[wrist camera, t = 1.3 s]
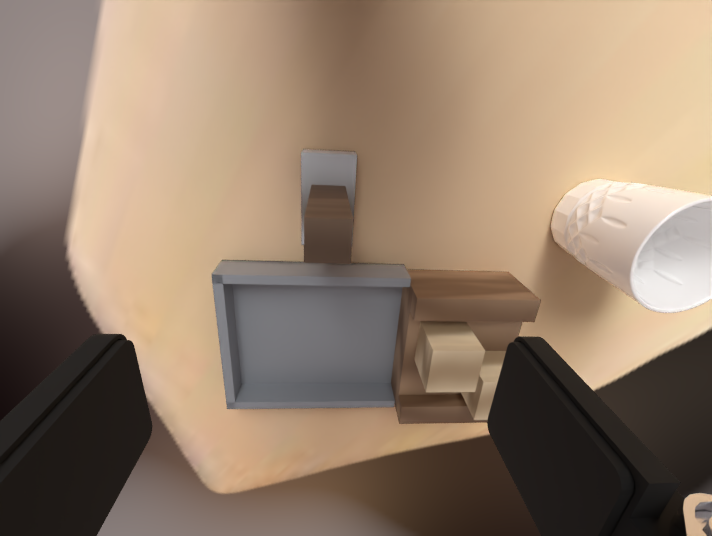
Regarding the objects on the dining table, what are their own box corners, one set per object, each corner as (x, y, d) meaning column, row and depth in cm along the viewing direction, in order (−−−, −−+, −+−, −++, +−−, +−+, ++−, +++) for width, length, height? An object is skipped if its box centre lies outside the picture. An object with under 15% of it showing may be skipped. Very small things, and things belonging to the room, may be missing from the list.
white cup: (582, 155, 29) (698, 174, 20) (649, 195, 31) (783, 229, 22) (525, 237, 32) (605, 288, 23) (590, 270, 34) (688, 328, 25)
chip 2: (465, 350, 31) (483, 382, 28) (508, 350, 32) (532, 381, 28) (457, 386, 33) (474, 420, 29) (498, 385, 33) (520, 419, 30)
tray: (221, 260, 31) (211, 274, 28) (403, 264, 32) (411, 278, 29) (234, 386, 36) (227, 409, 33) (389, 385, 38) (394, 407, 35)
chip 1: (420, 321, 30) (433, 350, 26) (466, 321, 30) (485, 350, 27) (414, 359, 31) (425, 392, 28) (458, 359, 32) (475, 392, 28)
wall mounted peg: (303, 148, 27) (288, 171, 17) (354, 151, 28) (370, 175, 17) (303, 234, 30) (290, 299, 20) (350, 236, 31) (361, 300, 20)
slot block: (403, 269, 32) (417, 298, 27) (508, 271, 33) (540, 300, 28) (389, 381, 37) (399, 423, 32) (481, 381, 38) (504, 422, 33)
